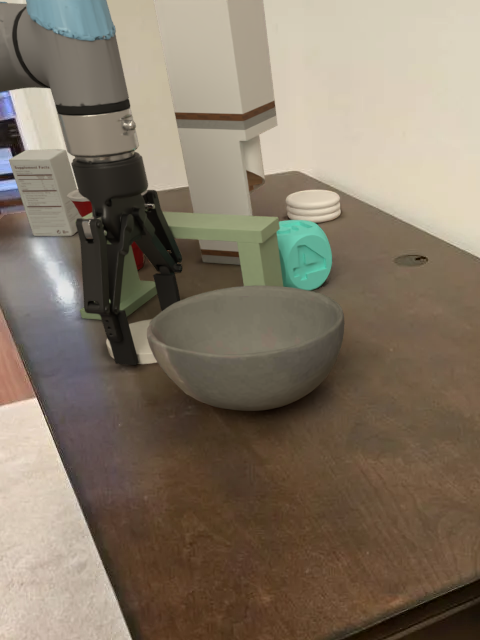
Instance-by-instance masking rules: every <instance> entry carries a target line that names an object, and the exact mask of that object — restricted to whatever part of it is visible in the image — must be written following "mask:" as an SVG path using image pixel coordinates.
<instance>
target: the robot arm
mask: <svg viewBox="0 0 480 640" xmlns="http://www.w3.org/2000/svg"><path fill="white" fill-rule="evenodd" d="M25 2H26V3H14V2H6V1H0V93H2V92H8V91H17V90H21V89H32V88H34V89H49V90H50V92H51V95H52V98H53V99H52V100H53V102H54V107H55V110H56V114H57V118H58V122H59V125H60V129H61V133H62V137H63V141H64V144H65V145H64V146H65V148H66V149H65V150H66V152H67V154H69V155H70V156H72V157H74V158H73V159H72V162H70V166H71V169H72V173H73V176H74V180H75V183H76V187H77V189H78V190H79V193H80V194H81V195H82V196H83V197H85V198H87V199H88V200H89V201H90V202H91V204H92V217H91V218H88V219H86V218H85V219H84V218H78V219H77V220H76V227H77V235H78V238H79V242H80V243H79V245H80V257H81V258H80V259H81V260H80V261H81V275H82V276H81V278H82V294H83V307H84V310H85V312H86V313H90V314H99V315H100V316H101V319H102V320H101V322H102V325H103V330H104V333H105V336H106V340H107V339H108V340H109V342H110V345H111V349H112V352H113V356H114V358H113V359H114V361H115V362H114V363H115V364H116V365H125V366H137V365H139V364H138V363H139V361H138V357H137V354H136V350H135V346H134V342H133V338H132V335H131V331H130V327H129V324H130V323H129V320H128V316H126V312H125V310H120V300H121V289H122V278H123V267H124V257H125V255H127V254H128V253H129V246H130V245H131V244H132V243H133V242H135V243H136V244H137V245H138V247H139V248H140V249H141V251H142V252H143V256H145V258H146V259H147V260H148V261H149V263H150V265H152V267H153V268H154V270H155V271H156V272H157V273H154V274H153V275H152V277H153V280H154V281H155V286H156V290H157V297H158V302H159V303H158V304H159V307H160V312H162V311H163V310H165V309H166V308H168V307H169V306H171V305H172V304H174V303H176V302H178V301H180V300H181V296H180V292H179V286H178V280H177V277H176V274H177V273H179V274H181V273H182V272H183V265H182V262H183V255H182V252H181V250H180V248H179V246H178V244H177V242H176V238H174V237H173V235H172V232H171V230H170V228H169V226H168V223H167V221H166V219H165V217H164V214H163V212H164V211H163V210H162V207H161V202H160V199H159V198H160V197H159V194H158V192H157V190H156V189H148V188H149V181H148V177H147V171H146V168H145V163H144V159H143V156H142V155H141V154H140V153H139V152H138V151H136V150H138V148H139V146H140V141H139V139H138V134H137V131H136V128H137V123H136V121H135V120H134V117H133V113H132V109H131V101H130V99H129V98H130V96H129V91H128V87H127V81H126V77H125V72H124V68H123V63H122V58H121V53H120V49H119V45H118V44H119V43H118V39H117V35H116V32H117V30H116V25H114V21H113V19H112V15H111V12H110V7H109V5H108V0H25ZM107 240H108V241H109V242H110V243H111V244H107ZM169 251H170V252H169ZM158 272H159V273H158ZM109 299H110V302H109ZM94 301H95V302H94Z"/></svg>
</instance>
